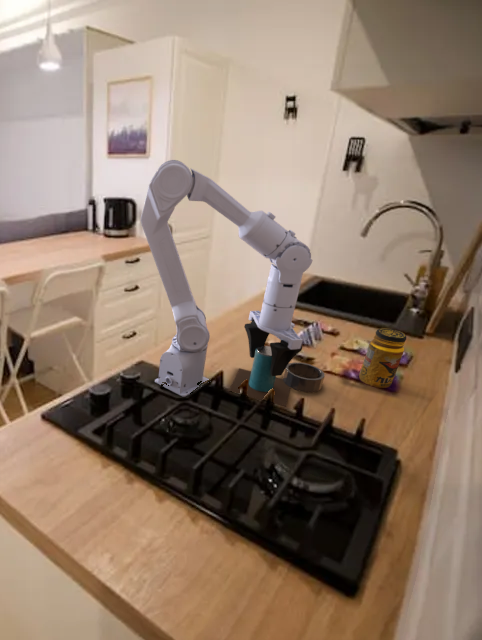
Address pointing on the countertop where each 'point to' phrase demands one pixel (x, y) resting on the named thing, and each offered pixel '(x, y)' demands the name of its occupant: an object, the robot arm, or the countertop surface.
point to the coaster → (279, 389)
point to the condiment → (383, 358)
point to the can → (262, 370)
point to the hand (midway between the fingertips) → (265, 365)
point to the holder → (307, 371)
